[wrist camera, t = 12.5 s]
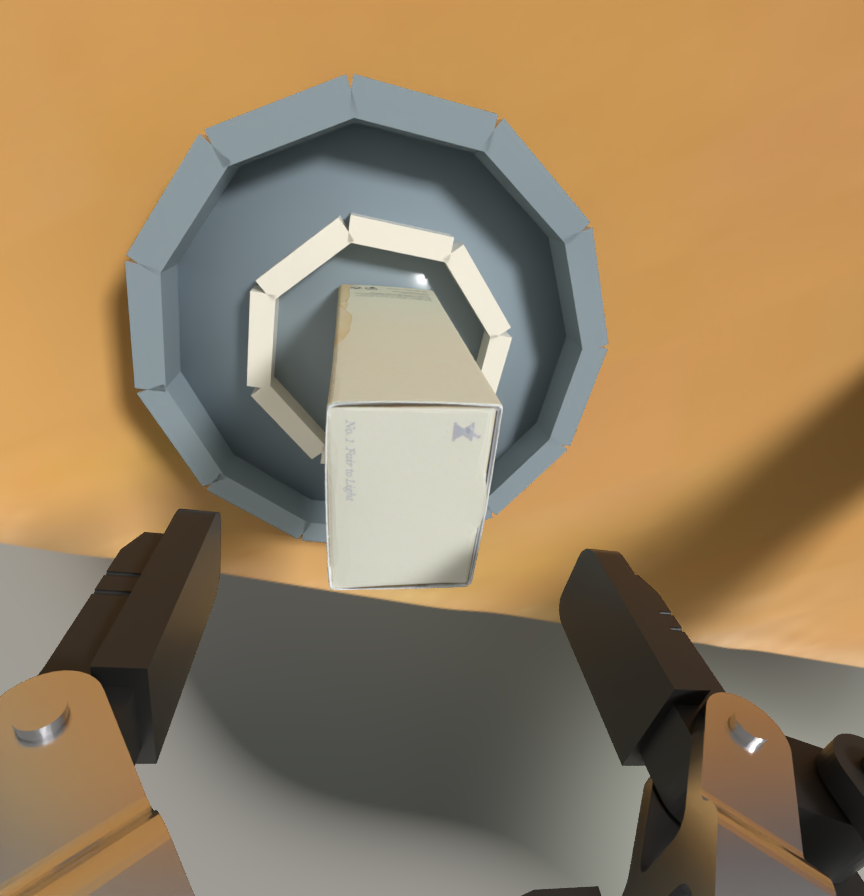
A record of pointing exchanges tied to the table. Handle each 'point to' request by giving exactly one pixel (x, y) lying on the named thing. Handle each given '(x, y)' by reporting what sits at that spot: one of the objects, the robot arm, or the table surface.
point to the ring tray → (355, 283)
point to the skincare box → (405, 444)
